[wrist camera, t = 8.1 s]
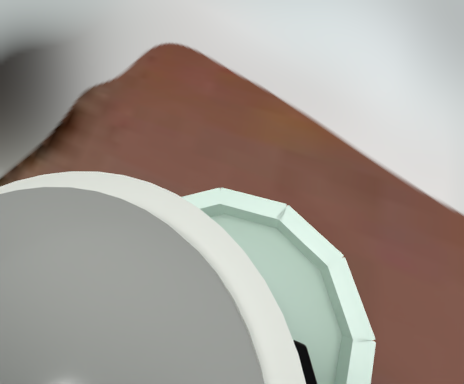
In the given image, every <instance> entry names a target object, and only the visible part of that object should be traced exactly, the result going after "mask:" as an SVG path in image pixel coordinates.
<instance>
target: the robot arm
mask: <svg viewBox="0 0 464 384" xmlns="http://www.w3.org/2000/svg"><path fill="white" fill-rule="evenodd" d="M293 342H294V344H295V347H296V349H297V352H298V355H299V358H300V362H301V366H302V370H303V374H304V378H305V381H306V384H317V381H316V377H315V374H314V370H313V367H312V363H311V360H310V356H309V353H308V349H307V347H306V345H305V344H303V343H300V342H298V341H296V340H293Z"/></svg>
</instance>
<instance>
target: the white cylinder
mask: <svg viewBox="0 0 464 384" xmlns="http://www.w3.org/2000/svg"><path fill="white" fill-rule="evenodd" d="M0 384H306V381H305V378H304V374H303V370H302V366H301V362H300V358H299V355H298V352H297V349H296V347H295V344H294V342H293V339H292V336H291V334H290V331H289V329H288V326H287V323H286V321H285V318H284V316H283V313H282V312H281V310H280V308H279V306H278V304H277V302H276V300H275V298H274V297H273V295H272V293H271V291H270V289H269V287H268V285H267V283H266V282H265V280H264V278H263V277H262V276H261V274H260V273H259V271H258V270H257V268H256V267H255V266H254V264H253V263H252V261H251V260H250V259H249V257H248V256H247V254H246V253H245V251H244V250H243V249H242V248H241V247H240V246H239V245H238V244H237V243H236V242H235V241H234V240H233V238H232V237H231V236H230V235H229V234H228V233H227V232H226V231H225V230H224V229H223V228H222V227H221V226H220V225H219V224H217V223H216V222H215V221H214V220H213V219H211V218H210V217H209V216H208V215H207V214H205V213H204V212H203V211H202V210H201V209H199V208H198V207H196V206H194V205H193V204H191V203H190V202H188V201H186V200H185V199H183V198H181V197H180V196H178V195H177V194H175V193H173V192H170V191H168V190H166V189H163V188H161V187H159V186H157V185H154V184H152V183H150V182H146V181H142V180H139V179H135V178H132V177H128V176H125V175H118V174H111V173H103V172H63V173H54V174H45V175H40V176H36V177H32V178H28V179H23V180H19V181H16V182H13V183H10V184H7V185H4V186H1V187H0Z"/></svg>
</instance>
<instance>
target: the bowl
mask: <svg viewBox="0 0 464 384" xmlns="http://www.w3.org/2000/svg"><path fill="white" fill-rule="evenodd" d="M181 198H183V199H185V200H186V201H188V202H190V203H191V204H193V205H194V206H196V207H198V208H199V209H201V210H202V211H203V212H204V213H205V214H207V215H208V216H209V217H210V218H211V219H213V220H214V221H215V222H216V223H217V224H219V225H220V226H221V227H222V228H223V229H224V230H225V231H226V232H227V233H228V234H229V235H230V236H231V237H232V238H233V240H234V241H235V242H236V243H237V244H238V245H239V246H240V247H241V248H242V249H243V250H244V251H245V253H246V254H247V256H248V257H249V259H250V260H251V261H252V263H253V264H254V266H255V267H256V268H257V270H258V271H259V273H260V274H261V276H262V277H263V278H264V280H265V282H266V283H267V285H268V287H269V289H270V291H271V293H272V295H273V297H274V298H275V300H276V302H277V304H278V306H279V308H280V310H281V312H282V313H283V316H284V318H285V321H286V323H287V326H288V329H289V331H290V334H291V336H292V339H293V340H296V341H298V342H300V343H303V344H305V345H306V347H307V349H308V353H309V356H310V360H311V363H312V367H313V370H314V374H315V377H316V381H317V384H371V377H372V369H373V361H374V353H375V345H376V342H374V341H371V340H375V337H374V334H373V331H372V329H371V326H370V323H369V321H368V318H367V315H366V312H365V310H364V307H363V304H362V302H361V299H360V296H359V294H358V291H357V288H356V286H355V283H354V280H353V278H352V275H351V272H350V269H349V267H348V264H347V261H346V259H345V258H342V257H343V256H344V255H343V254H342V253H340V252H339V251H338V250H337V249H336V248H335V247H334V246H333V245H332V244H331V243H329V242H328V241H327V240H326V239H325V238H324V237H323V236H322V235H321V234H320V233H318V232H317V231H316V230H315V229H314V228H313V227H312V226H311V225H310V224H309V223H308V222H306V221H305V220H304V219H303V218H302V217H301V216H300V215H299V214H298V213H297V212H295V211H294V210H293V209H292V208H291V207H290V206H289V205H288V206H287V207H286V205H287V204H284V203H280V202H276V201H272V200H269V199H265V198H261V197H257V196H253V195H249V194H245V193H241V192H237V191H233V190H229V189H225V188H222V189H220V188H216V189H212V190H208V191H204V192H200V193H196V194H192V195H188V196H184V197H181Z"/></svg>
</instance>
